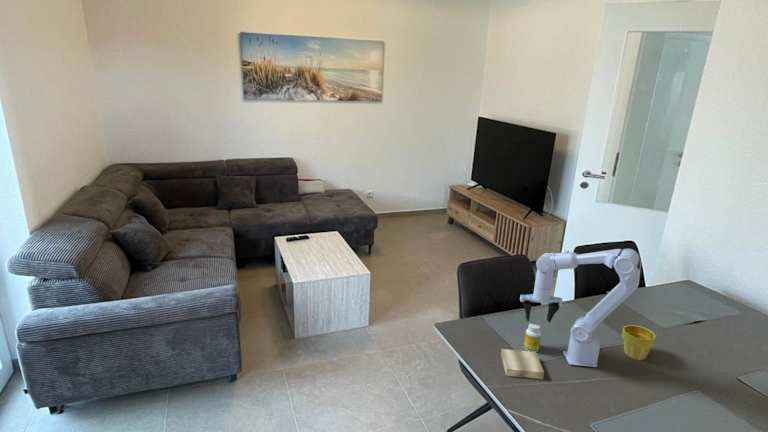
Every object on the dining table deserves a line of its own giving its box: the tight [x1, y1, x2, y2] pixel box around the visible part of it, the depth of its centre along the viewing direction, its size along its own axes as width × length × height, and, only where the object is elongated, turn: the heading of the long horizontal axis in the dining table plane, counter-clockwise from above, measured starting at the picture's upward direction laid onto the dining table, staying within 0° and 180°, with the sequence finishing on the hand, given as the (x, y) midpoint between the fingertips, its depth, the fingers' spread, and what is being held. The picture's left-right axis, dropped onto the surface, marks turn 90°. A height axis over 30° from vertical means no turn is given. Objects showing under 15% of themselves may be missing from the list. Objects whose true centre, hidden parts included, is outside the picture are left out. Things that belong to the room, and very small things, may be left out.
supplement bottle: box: [523, 322, 542, 353], centre depth 162 cm, size 5×5×10 cm
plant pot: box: [621, 324, 657, 361], centre depth 160 cm, size 10×10×10 cm
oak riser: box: [500, 348, 545, 380], centre depth 152 cm, size 12×12×3 cm
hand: (538, 320), depth 163 cm, fingers open, 7 cm apart
